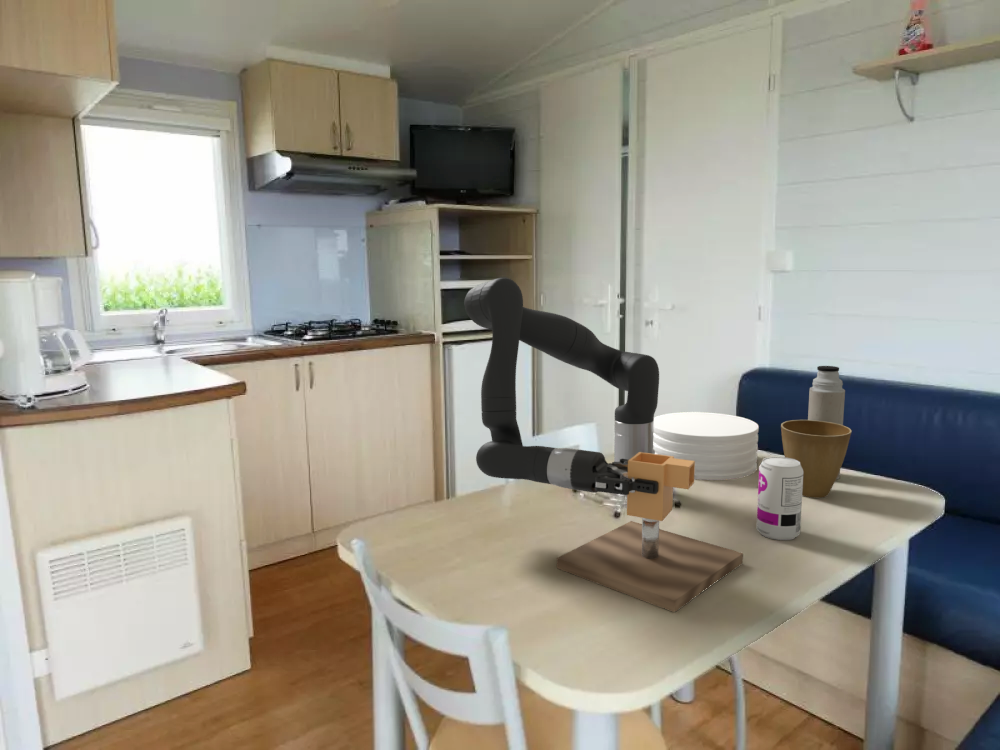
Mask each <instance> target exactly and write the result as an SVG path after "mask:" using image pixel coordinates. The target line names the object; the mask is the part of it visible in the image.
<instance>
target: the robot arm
mask: <svg viewBox="0 0 1000 750" xmlns="http://www.w3.org/2000/svg"><path fill="white" fill-rule="evenodd" d="M464 297H465V298H464V300H463V301H464V302H463V303H464V309H465V313H466V314H467V316H468V317H469V319H470V320H471V321H472V322H473V323H475V324H476V325H477V326H479V327H481V328H484V329H487V330H490V331H491V333H492V339H491V349H490V353H489V358H488V361H487V363H486V367H485V370H484V374H483V376H482V382H481V389H480V396H481V397H480V400H481V401H480V402H481V404H480V405H481V407H480V409H481V421H482V425H483V426H484V427H485V428H487V429H489V431H490V436H491V441H488V442H485V443H484V444H482V445H481V446H480V448H479V449H478V450H477V453H476V455H475V458H476V459H475V462H476V465H477V467H478V469H479V470H480V471H481V472H482V473H483V474H484V475H485V476H488V477H491V478H496V479H507V480H510V479H511V480H525V481H526V480H527V481H532V482H535V483H536V482H537V483H542V484H545V485H546V484H547V485H553V486H556V487H560V488H564V489H569V490H576V491H582V492H588V493H607V494H616V495H623V496H627V495H629V492H631V493H634V492H636V490H637V491H638V492H644V493H651V494H657V493H658V488H659V483H658V482H657V481H654V480H647V479H640V478H638V479H637V480H636V478H635V477H630V476H628V460H630V459H631V458H632V457H634V456H635V455H636V454H637V453H639V452H643V453H651V454H655V450H654V449H653V439H654V417H655V414H656V411H657V407H658V403H659V387H660V386H659V385H660V371H659V370H660V369H659V364H658V363H657V360H656V359H655V358H654V357H653V356H651V355H648V354H644V353H637V352H629V351H624V350H621V349H617V348H614V347H611V346H609V345H607V344H605V343H603V342H602V341H601V340H600V339H598V337H597V336H596V334H595V333H594V332H593V331H592V330H591V329H589V327H587V326H584V325H583V324H581V323H579V322H577V321H576V320H573V319H572V318H569V317H568V316H564V315H561V314H558V313H555V312H554V313H553V312H550V311H541V310H536V309H532V308H528V307H525V306H524V296H523V292H522V290H521V288H520V286H519V285H518V283H517V282H516V281H515V280H513V279H511V278H508V277H498V278H494V279H491V280H489V281H485V282H482V283H480V284H477V285H475V286H474V287H472V288H470V289H469V290H468V292H467V293H466V295H465V296H464ZM520 342H522V343H524V344H526V345H528V346H530V347H532V348H535V349H536V350H538V351H541V352H543V353H544V354H546V355H548V356H550V357H552V358H554V359H557V360H558V361H561V362H562V363H564V364H568V365H571V366H573V367H575V368H578V369H582V370H585V371H588V372H590V373H592V374H594V375H595V376H598V377H599V378H601V379H602V380H604V381H605V382H606V383H608V384H609V385H611V386H613V387H615V388H616V389H619V390H621V391H625V392H627V398H626V402H625V404H622V405H618V406H616V407H615V410H614V424H613V425H614V429H613V430H614V431H613V432H614V434H613V435H614V439H613V440H614V445H613V446H614V450H613V451H614V453H613V454H614V455H613V457H614V458H613V461H612V462H609V463H608V462H607V460H606V457H605V455H604V454H603V453H602V452H601V451H600V452H599V451H592V450H584V449H579V448H578V449H576V448H569V447H560V448H559V447H552V446H544V445H529V446H526V445H524V444H523V440H522V435H521V430H520V428H519V425H518V421H517V393H516V392H517V391H516V388H517V387H516V386H517V385H516V381H517V379H516V377H517V376H516V375H517V364H518V363H517V361H518V356H519V355H518V353H519V344H520Z"/></svg>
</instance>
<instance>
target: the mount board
mask: <svg viewBox="0 0 1000 750" xmlns="http://www.w3.org/2000/svg"><path fill="white" fill-rule="evenodd" d="M743 560H744V553H743V552H741V551H737V550H734V549H731V548H730V549H729V548H726V547H724V546H720V545H716V544H713V543H708V542H705V541H702V540H699V539H695V538H692V537H689V536H684V535H681V534H679V533H674V532H671V531H668V530H664V529H660V528H659V557H658V558H656V559H647V558H644V557H643V556H642V523H640V522H636V521H634V520H630V521H628V522H626V523H624V524H622V525H621V526H618V527H617V528H614V529H612V530H610V531H608V532H606V533H603V534H602V535H600V536H598V537H596V538H594V539H593V540H590V541H588V542H586V543H584V544H582V545H580V546H578V547H576V548H574V549H572V550H570V551H568V552H565V553H564V554H562V555H560V556H558V557H556V569H559V570H560V571H563V572H566V573H569V574H571V575H575V576H576V577H579V578H581V579H584V580H586V581H587V580H588V581H590V582H593V583H595V584H598V585H601V586H604V587H606V588H607V589H611V590H613V591H617V592H619V593H622V594H625V595H627V596H630V597H632V598H635V599H638V600H641V601H643V602H646V603H648V604H651V605H653V606H656V607H659V608H661V609H664V608H665V610H667V611H669V610H670V612H672V613H676V612H677V611H678V609H679V608H680V609H681V608H683V607H685V605H687V604H689V603H690V602H691V601H692V600H693V599H692V598H694V597H695V596H697V595H698V594H699V593H701V592H702V591H703V590H705V589H706V588H708V587H709V586H710V585H712V584H713V583H714V582H716V581H717V580H719V579H720V578H722V577H723V576H724V577H726V576H727V575H729V574H730V573H732V572H733V571H734V570H736V569H737V568H738V567H740V566H741V565H743ZM739 565H740V566H739ZM735 568H736V569H735ZM732 570H733V571H732ZM729 572H730V573H729ZM728 573H729V574H728ZM726 574H727V575H726ZM725 575H726V576H725ZM724 577H723V578H724ZM723 578H722V579H723ZM720 580H721V579H720ZM720 580H719V581H720ZM716 583H717V582H716ZM713 585H714V584H713ZM713 585H712V586H713ZM709 588H710V587H709ZM709 588H708V589H709ZM706 590H707V589H706ZM706 590H705V591H706ZM702 593H703V592H702ZM702 593H701V594H702ZM699 595H700V594H699ZM699 595H698V596H699ZM698 596H697V597H698ZM695 598H696V597H695ZM695 598H694V599H695ZM691 599H692V600H691ZM690 600H691V601H690ZM689 601H690V602H689ZM686 603H687V604H686ZM682 606H683V607H682ZM680 609H679V610H680ZM675 611H676V612H675Z"/></svg>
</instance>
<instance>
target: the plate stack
mask: <svg viewBox="0 0 1000 750" xmlns="http://www.w3.org/2000/svg"><path fill="white" fill-rule="evenodd" d="M759 427H760V426H759V424H758V423H757V422H755V421H753V420H751V419H749V418H745V417H742V416H738V415H732V414H727V413H719V412H707V411H706V412H705V411H704V412H703V411H688V412H687V411H684V412H682V411H681V412H671V413H663V414H661V415H657V416H654V439H653V449H654V450H655V454H659V455H667V456H674V458H676V459H683V460H691V461H695V472H694V480H702V481H724V480H726V479H727V480H736V479H740V478H745V477H748V476H751V475H753V474H754V473H755V472H757V470H758V463H757V462H758V453H757V452H758V450H759V447H758V442H759V434H758V433H759V431H760V430H759V429H760V428H759ZM756 469H757V470H756ZM752 473H753V474H752ZM750 474H751V475H750ZM747 475H748V476H747ZM744 476H745V477H744Z"/></svg>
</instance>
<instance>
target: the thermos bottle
mask: <svg viewBox="0 0 1000 750" xmlns="http://www.w3.org/2000/svg"><path fill="white" fill-rule="evenodd" d="M816 370H817V374H816V375H817V376H816V377H815V378H813V379H812V386H811V387H809V392H808V393H809V395H808V409H807V410H808V413H807V415H808V416H807V420H816V421H824V422H831V423H836V424H840V425H843V426H844V412H845V396H846V390H845V389H844V388H843V385H844V383H843V380H842V379H841V378H840V367H839V366H834V365H818V366H817V368H816ZM840 476H841V470H840V471H839V474H838V476H837V478H836V480H839V479H840Z"/></svg>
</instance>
